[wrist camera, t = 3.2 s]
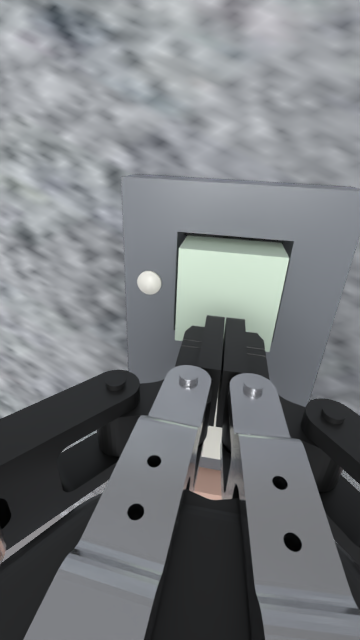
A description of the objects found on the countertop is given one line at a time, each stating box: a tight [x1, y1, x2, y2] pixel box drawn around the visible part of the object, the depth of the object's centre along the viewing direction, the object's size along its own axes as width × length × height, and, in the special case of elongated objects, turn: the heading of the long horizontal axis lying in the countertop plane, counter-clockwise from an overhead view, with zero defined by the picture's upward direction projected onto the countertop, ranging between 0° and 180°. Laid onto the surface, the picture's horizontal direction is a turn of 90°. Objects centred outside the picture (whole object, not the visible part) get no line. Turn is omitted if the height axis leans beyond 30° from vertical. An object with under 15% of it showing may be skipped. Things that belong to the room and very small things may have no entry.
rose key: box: [194, 467, 222, 500], centre depth 26 cm, size 5×5×3 cm
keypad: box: [121, 174, 360, 471], centre depth 23 cm, size 12×29×3 cm, turn 177°
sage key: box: [175, 235, 289, 352], centre depth 17 cm, size 5×5×3 cm
